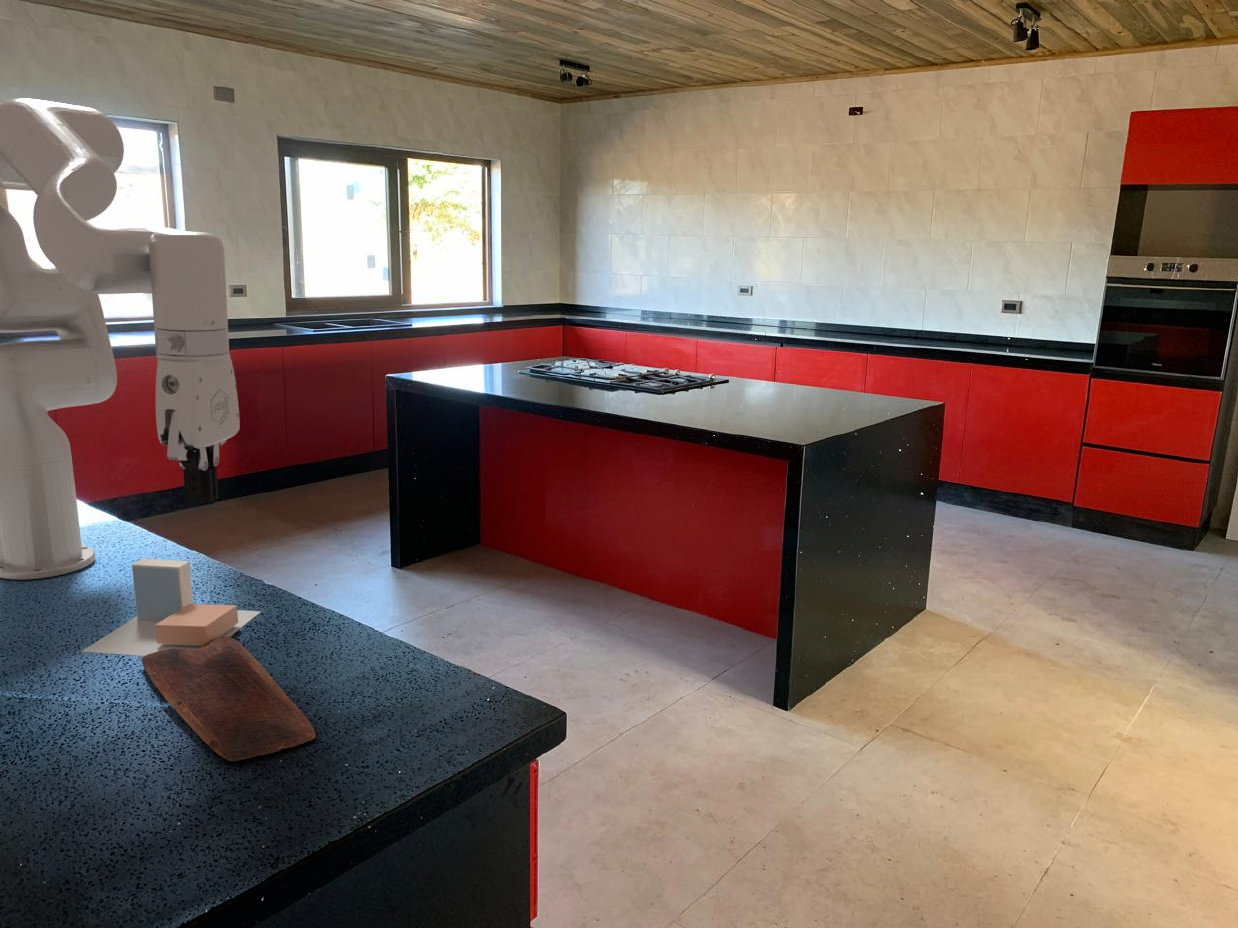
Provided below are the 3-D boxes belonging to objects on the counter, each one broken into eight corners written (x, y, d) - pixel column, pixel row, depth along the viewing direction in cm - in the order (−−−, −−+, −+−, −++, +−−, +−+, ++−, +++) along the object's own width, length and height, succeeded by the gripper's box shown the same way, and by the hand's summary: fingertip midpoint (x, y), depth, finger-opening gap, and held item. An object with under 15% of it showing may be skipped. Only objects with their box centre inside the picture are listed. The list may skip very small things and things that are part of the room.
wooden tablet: (325, 725, 85) (213, 749, 78) (323, 748, 85) (212, 772, 79) (232, 630, 104) (136, 642, 98) (231, 649, 105) (135, 662, 98)
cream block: (136, 619, 110) (130, 564, 109) (147, 611, 113) (142, 558, 111) (183, 622, 110) (178, 567, 108) (193, 614, 112) (189, 561, 110)
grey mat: (81, 654, 101) (81, 651, 101) (155, 607, 115) (155, 604, 115) (200, 663, 100) (200, 659, 100) (261, 614, 114) (260, 611, 114)
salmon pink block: (191, 622, 110) (157, 644, 103) (189, 603, 109) (155, 624, 102) (238, 624, 109) (207, 646, 102) (236, 605, 109) (205, 626, 102)
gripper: (187, 354, 94) (197, 521, 99) (256, 339, 109) (263, 486, 113) (119, 349, 95) (132, 515, 99) (197, 335, 109) (205, 481, 114)
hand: (201, 499), depth 106 cm, fingers closed
